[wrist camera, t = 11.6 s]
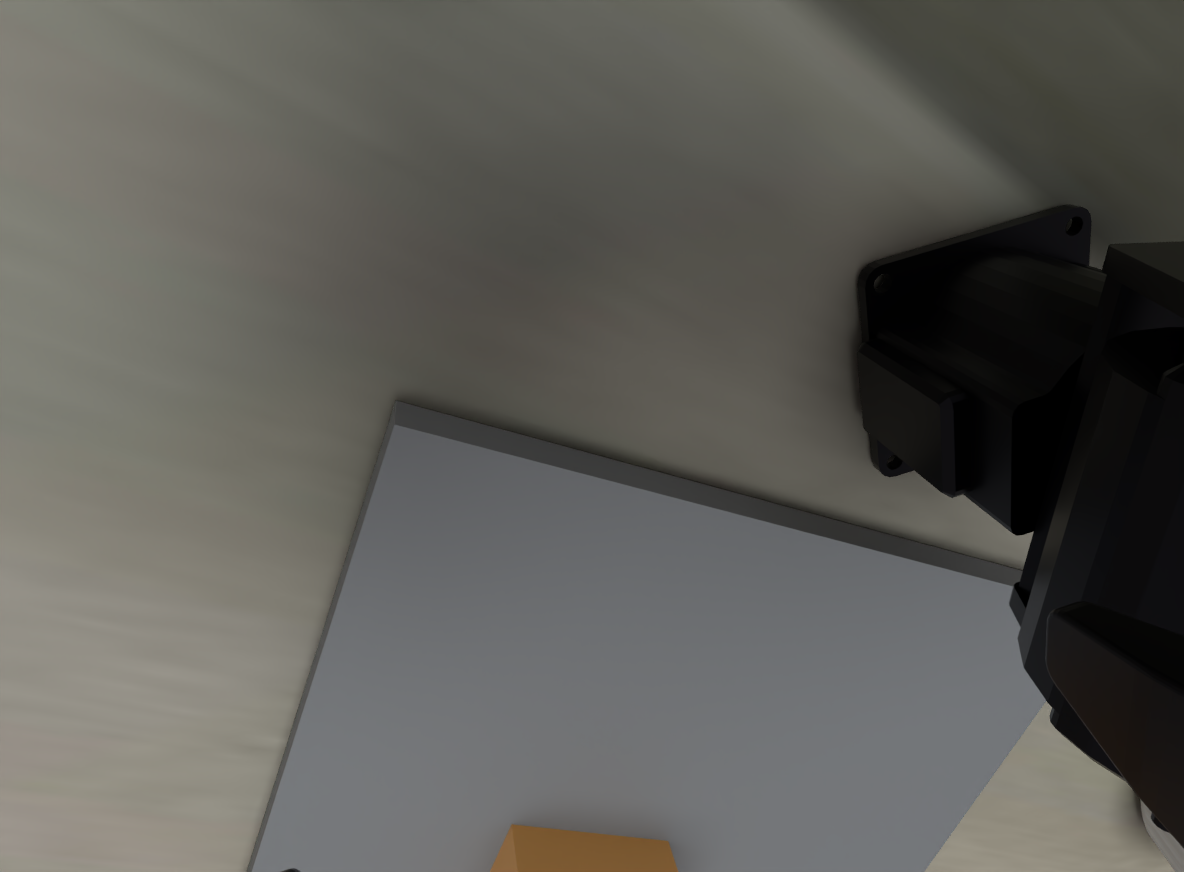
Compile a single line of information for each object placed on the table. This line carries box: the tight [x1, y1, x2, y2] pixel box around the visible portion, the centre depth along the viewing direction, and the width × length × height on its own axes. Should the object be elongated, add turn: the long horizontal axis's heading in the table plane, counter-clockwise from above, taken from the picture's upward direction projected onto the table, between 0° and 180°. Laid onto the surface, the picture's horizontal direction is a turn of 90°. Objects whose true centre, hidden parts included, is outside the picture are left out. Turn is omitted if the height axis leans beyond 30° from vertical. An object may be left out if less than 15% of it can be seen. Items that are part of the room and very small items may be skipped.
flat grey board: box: [247, 401, 1046, 872], centre depth 27 cm, size 24×18×2 cm
